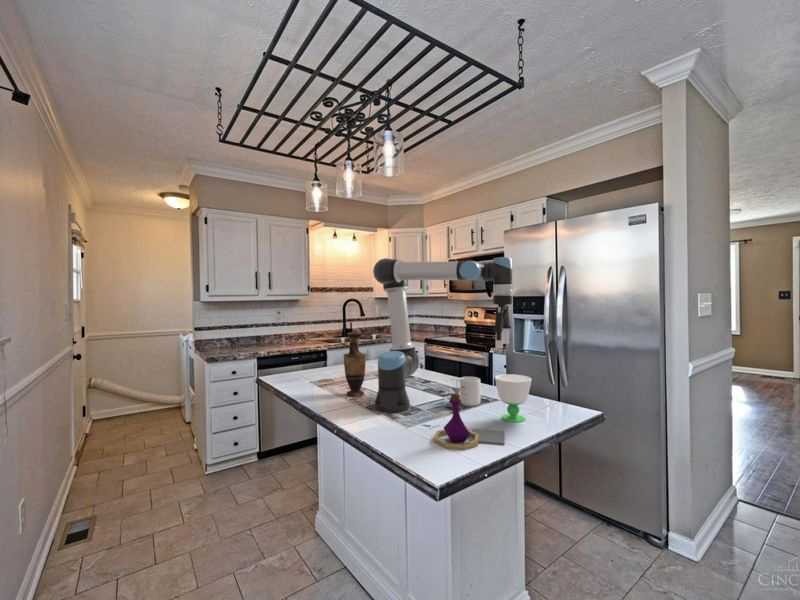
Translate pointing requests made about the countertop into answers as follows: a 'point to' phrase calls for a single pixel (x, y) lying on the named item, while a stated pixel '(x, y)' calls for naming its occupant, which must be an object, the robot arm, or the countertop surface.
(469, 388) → the mug
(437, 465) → the countertop surface
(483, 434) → the slate coaster
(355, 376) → the vase
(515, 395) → the cup
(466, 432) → the perfume bottle
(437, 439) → the wooden octagonal frame
